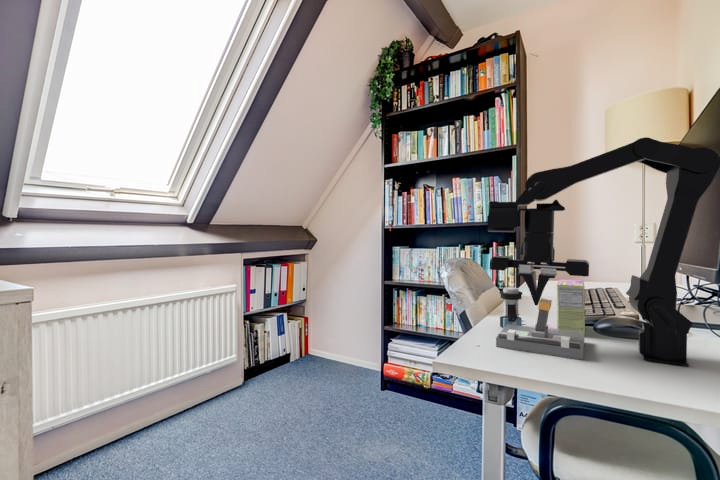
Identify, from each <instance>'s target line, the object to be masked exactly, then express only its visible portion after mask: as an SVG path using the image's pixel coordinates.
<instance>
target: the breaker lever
mask: <svg viewBox="0 0 720 480" xmlns="http://www.w3.org/2000/svg"><path fill="white" fill-rule="evenodd" d="M552 303H553V302H552V299H547V298H542V297H541V298H540V301H539V303H538V308H537V309H538V314H537V320H536V324H537V325H536V324H535V325H536V331H541V332H545V331H546V325H548V319H549V312H550V310H551V307H552Z"/></svg>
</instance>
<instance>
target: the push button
mask: <svg viewBox="0 0 720 480" xmlns="http://www.w3.org/2000/svg"><path fill="white" fill-rule="evenodd" d="M519 290H520V289H519V288H518V287H512V286H507V287H503V290H500V291H499V294H500V298H501V299H502V300H503V314H502V315H501V316H499V326H500V327H501V328H502V329H504V327H505V326H506V325H507V324H509V325H517V326H526V325H527V324H526V323H522V322H526V320H525V319H522V317H520V313H519V300H522V296H523V292H522V291H519Z"/></svg>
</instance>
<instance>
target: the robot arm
mask: <svg viewBox="0 0 720 480" xmlns="http://www.w3.org/2000/svg"><path fill="white" fill-rule="evenodd" d="M634 163H638V164H639V163H640V164H642V165H644V166H647V167H649V168H651V169H653V170H655V171H658V172H661V173H664V174H666V175H665V176H666V177H665V189H666V195H667V197H666V198H667V199H666V202H665V205H664V209H663V214H662V216H661V219H660V223H659V227H658V230H657V232H656V236H655V240H654V243H653V247H652V250H651V253H650V256H649V260H648V263H647V266H646V268H645V270H644V272H643V273H642V274H641V276H640V277H639V276H636V275H631V279H630V287H629V288H628V290H627V291H626V292H625V294H626V295H627V296H628V301H629V302H628V303H629V304H630V306H631V308H632V309H633V310H634V311H636V312H637V313H638V314H639V315H640V317H641V319H642V321H644V322H642V324H641V325H642V326H641V328H642V329H639V330H638V352H639V354H640V355H642V358H643V360H644V361H647V362H650V361H651V362H655V363H657V362H658V363H662V364H669V365H676V366H684V367H690V362H689V361H688V360H687V359H688V352H687V351H688V350H687V349H688V348H687V347H688V334H689V331H690V330H691V328H692V326H693V322H692V321H691V320H689V319H688V318H687V316H685V315H683V313H681V312H680V311H679V310H678V309H677V299H678V288H677V280H676V274H677V272H678V268H679V265H680V260H681V258H682V255H683V252H684V248H685V245H686V242H687V238H688V235H689V233H690V228H691V226H692V222H693V219H694V216H695V212H696V209H697V206H698V203H699V201H700V200H701V198H702V197H703V195H704V194H705V193H706V191H707V190H708V189H710V188H709V187H710V186H712V183H713V182H714V180H715V178H716V176H717V175H718V173H719V171H720V155H719V154H718V153H717V151H715V150H713V149H712V148H709V147H708V148H707V147H705V146H704V147H695V148H693V147H690V146H686V145H682V144H677V143H670V142H666V141H665V142H664V141H660V140H658V139H654V138H652V137H651V138H650V137H647V136H646V137H641V138H638V139H636V140H635V141H633V142H631V143H627V144H625V145H623V146H622V145H621V146H619V147H617V148H615V149H612V150H609V151H606V152H604V153H601V154H598V155H597V156H596V155H595V156H593V157H591V158H588V159H586V160H582V161H579V162H577V163H575V164H572V165H568V166H564V167H556V168H550V169H546V170H542V171H538V172H537V171H536V172H534V173H532V174H531V175H529V176H528V178H527V179H526V182H525V183H524V184H525V185H524V190H523V192H522V193H521V194H520V195H519V196H518V197H517V199H516V200H515V201H496V200H493V201H489V207H488V215H487V216H486V217H487V220H486V222H487V227H486V228H487V232H488V233H489V232H490V233H491V232H492V233H515V232H516V229H517V228H521V227H522V226H521V225H522V212H524V213H523V215H524V217H523V218H524V220H523V221H524V222H523V241H522V242H521V244H520V248H519V254H520V257H521V258H523V259H514V256H513V255H499V254H498V255H495V256H492V257H491V258H490V261H489V270H491V271H505V270H506V269H508V268H513V269H518V273H517V276H519V277H523V278H522V279H524V282H525V284H526V286H527V288H528V289H529V290H528V291H529V292H530V296H531V298H532V301H533V304H534V305H535V306H539V302H540V300H541V299H542V295H543V292H544V290H545V287H546V286H547V284H548V282H549V280H550V279H555V278H556V277H557V276H558V275H557V274H558V272H557V271H559V272H566V273H567V274H568V275H569V276H575V277H589V275H590V262H589V261H588V260H587V259H575V258H572V259H571V258H567V260H566V262H564V261H563V262H562V261H555V251H556V250H555V247H554V237H555V234H554V233H555V231H554V230H555V212H563V211H565V210H566V208H565V206H563V205H562V204H561V203H560V202H559V200H558V199H554V200H553V201H552V202H551V203H548V202H547V203H546V202H545V203H541V202H542V201H547V200H548V199H550V198H552V197H554V196H556V195H558V194H559V193H561V192H563V191H564V190H566V189H568V188H570V187H572V186H574V185H576V184H579V183H581V182H584V181H587V180H590V179H592V178H595V177H598V176H601V175H603V174H604V175H605V174H607V173H609V172H612V171H614V170H618V169H621V168H623V167H626V166H629V165H632V164H634ZM534 202H540V203H536V206H535V208H519V207H526V206H529V205H531V204H532V203H534ZM537 270H540V273H539V274H538V277H537Z"/></svg>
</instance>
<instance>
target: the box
mask: <svg viewBox="0 0 720 480" xmlns="http://www.w3.org/2000/svg"><path fill="white" fill-rule="evenodd" d="M556 301H557V302H556V305H557V306H556V307H557V311H556V312H557V313H556V314H557V315H556V316H557V320H556V321H557V326H556V327H557V329H556V330H560V331H568V332H576V333H584V337H585V336H586V333H585V332H586V330H585V323H586V322H585V321H586V319H585V315H586V314H585V313H586V312H585V306H586V305H585V302H586V301H585V282H584V280H583V279H558V281H557V283H556Z"/></svg>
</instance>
